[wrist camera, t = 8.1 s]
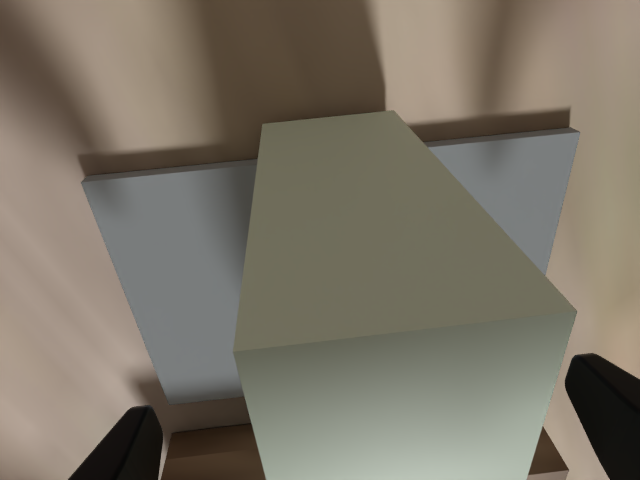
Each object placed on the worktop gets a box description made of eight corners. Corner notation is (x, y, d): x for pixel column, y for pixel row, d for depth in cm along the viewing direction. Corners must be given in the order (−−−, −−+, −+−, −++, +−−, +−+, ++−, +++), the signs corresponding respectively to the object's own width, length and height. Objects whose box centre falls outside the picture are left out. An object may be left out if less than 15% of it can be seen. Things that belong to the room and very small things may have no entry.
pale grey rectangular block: (305, 409, 15) (323, 699, 9) (262, 124, 10) (232, 351, 4) (391, 399, 15) (466, 679, 9) (393, 110, 10) (578, 311, 4)
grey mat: (171, 395, 14) (169, 405, 14) (87, 175, 10) (80, 182, 10) (517, 354, 15) (523, 363, 14) (571, 127, 11) (580, 132, 10)
